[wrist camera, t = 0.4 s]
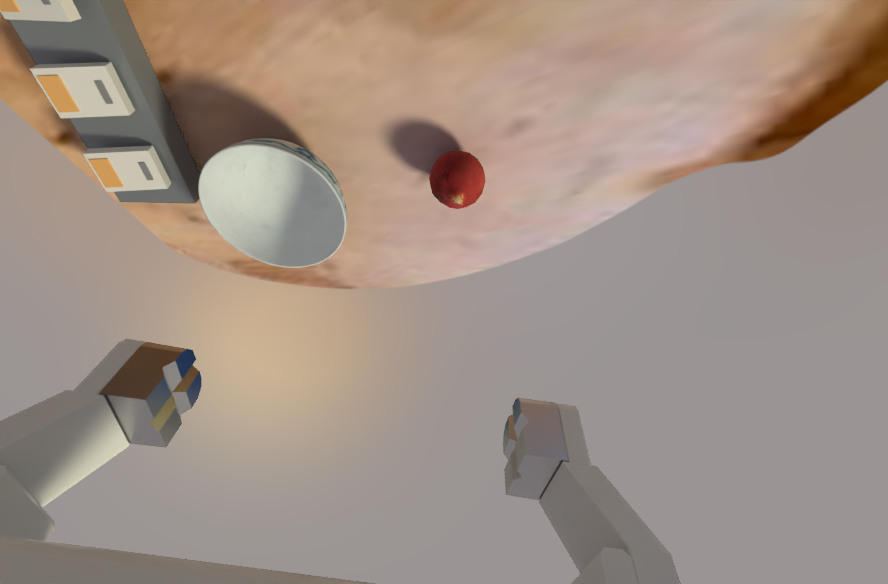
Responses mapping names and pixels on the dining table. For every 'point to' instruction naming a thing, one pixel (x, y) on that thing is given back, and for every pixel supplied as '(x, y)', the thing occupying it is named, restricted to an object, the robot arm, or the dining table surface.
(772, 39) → the dining table surface
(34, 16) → the rocker
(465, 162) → the red rounded piece
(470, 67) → the dining table surface
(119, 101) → the rocker
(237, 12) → the dining table surface
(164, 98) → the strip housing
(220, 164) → the chinaware
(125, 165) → the block
